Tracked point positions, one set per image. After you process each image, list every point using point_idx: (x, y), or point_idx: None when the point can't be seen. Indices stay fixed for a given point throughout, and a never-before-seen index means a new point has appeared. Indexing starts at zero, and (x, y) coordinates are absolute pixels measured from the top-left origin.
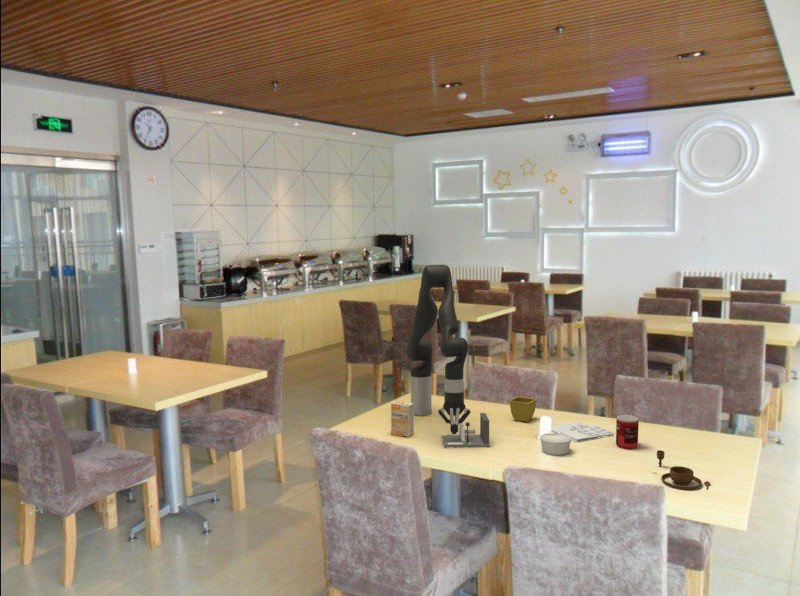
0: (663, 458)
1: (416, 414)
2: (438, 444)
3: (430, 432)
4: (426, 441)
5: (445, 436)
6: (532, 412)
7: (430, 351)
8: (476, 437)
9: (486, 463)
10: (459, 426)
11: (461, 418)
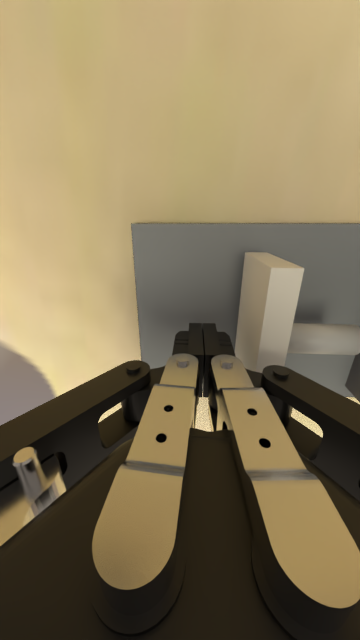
0: None
1: None
2: (117, 335)
3: (47, 81)
4: (51, 286)
5: (153, 253)
6: None
7: None
8: (348, 285)
9: None
10: (257, 292)
11: (293, 398)
